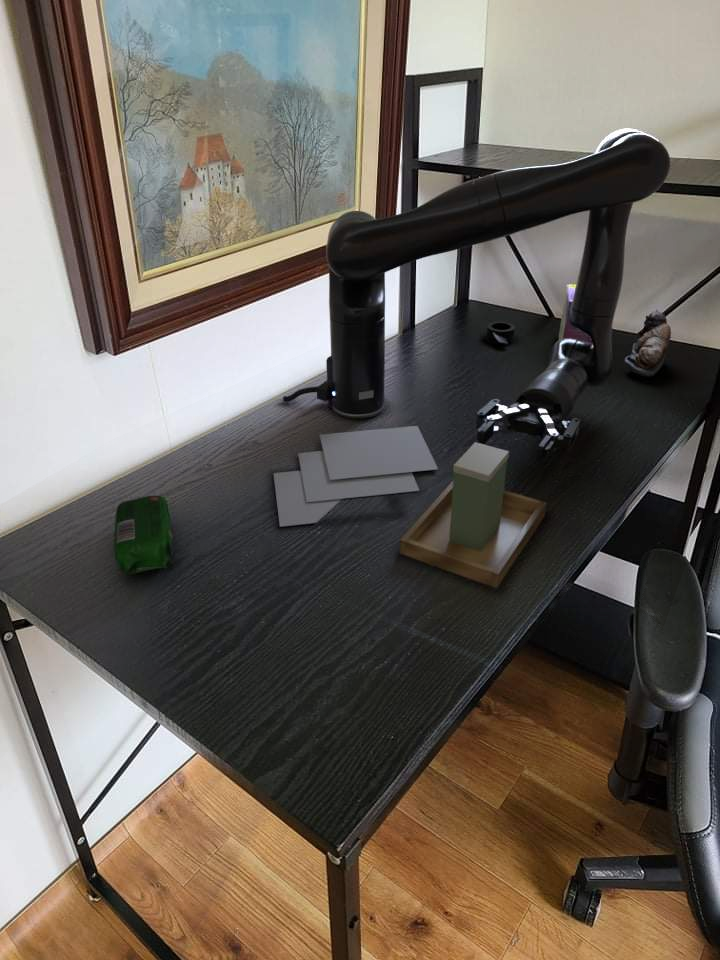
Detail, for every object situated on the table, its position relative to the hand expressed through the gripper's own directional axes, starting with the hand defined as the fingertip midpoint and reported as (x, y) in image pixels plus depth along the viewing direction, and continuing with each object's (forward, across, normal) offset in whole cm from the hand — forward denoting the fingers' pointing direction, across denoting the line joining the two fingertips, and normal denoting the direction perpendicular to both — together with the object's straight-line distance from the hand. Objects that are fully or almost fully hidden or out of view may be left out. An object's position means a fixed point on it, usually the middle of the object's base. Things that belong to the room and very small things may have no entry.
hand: (509, 446), depth 101 cm
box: (-59, -8, +9) cm, 60 cm away
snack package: (+35, -36, +9) cm, 51 cm away
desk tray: (+10, 0, +9) cm, 14 cm away
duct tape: (-56, -23, +9) cm, 61 cm away
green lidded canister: (+10, 0, +8) cm, 13 cm away
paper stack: (+5, -22, +9) cm, 24 cm away
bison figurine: (-56, +7, +9) cm, 57 cm away
